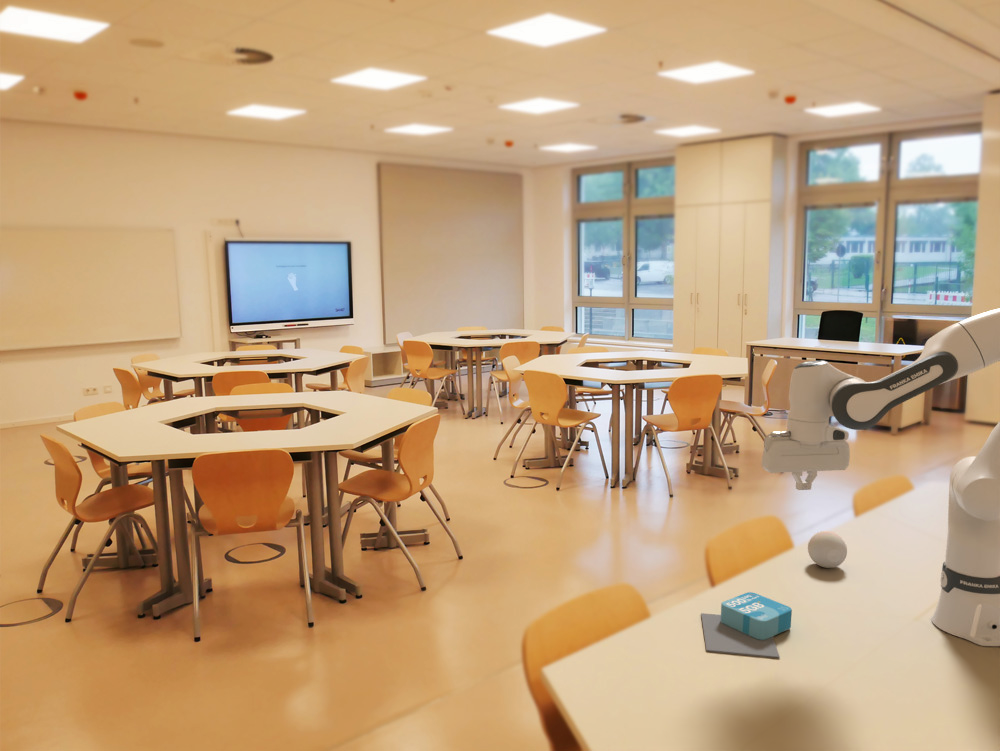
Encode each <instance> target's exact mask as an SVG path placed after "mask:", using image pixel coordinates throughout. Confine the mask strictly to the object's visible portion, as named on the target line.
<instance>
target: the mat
mask: <svg viewBox="0 0 1000 751" xmlns="http://www.w3.org/2000/svg"><path fill="white" fill-rule="evenodd" d="M700 617H701V623H702V629H703V638H704V643H705V651H706V652H708V653H709V652H710V653H720V654H729V655H730V654H731V655H738V656H749V657H761V658H770V659H781V658H780V655H779V652H778V651H779V650H778V649H777V645H776V641H775V639H774V636H772V637H770V638H768V639H766V640H758V639H755V638H753V637H751V636H749V635H747V634H745V633H742V632H740V631H738V630H736V629H734V628H731V627H729V626H727V625H725V624H723V623H722V622H721V614H712V613H704V612H701V614H700Z"/></svg>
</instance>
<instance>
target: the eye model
mask: <svg viewBox="0 0 1000 751" xmlns="http://www.w3.org/2000/svg"><path fill="white" fill-rule="evenodd" d="M807 552H808V556H809V558H810V559H811V560H812V561H813V562H814V563H815V565H818V566H820V567H822V568H826V569H833V568H836V567H839V566H840V565H842V564H843V562H844V561H845V560H846V558H847V555H848V548H847V544H846V542H845V540H844V539H843V538H842V536H841V535H840V534H837V533H836V532H833V531H830V530H822V531H817V532H816V533H815V534H813V535H812V536H811V537H810V538H809V541H808V544H807Z"/></svg>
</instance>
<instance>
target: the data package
mask: <svg viewBox="0 0 1000 751" xmlns="http://www.w3.org/2000/svg"><path fill="white" fill-rule="evenodd" d="M720 607H721V608H720V615H721V622H722V623H723V624H725V625H727V626H729V627H731V628H734V629H736V630H738V631H740V632H742V633H745V634H747V635H749V636H751V637H753V638H755V639H758V640H766V639H768V638H770V637H772V636H773V637H775V636H777V635H778V634H782V633H783V632H785V631H788V630H790V629H791V626H792V613H793V612H792V611H793V610H792V608H791V607H790V606H788V605H785V604H783V603H780V602H779V601H775V600H773V599H770V598H769V597H766V596H763V595H761V594H758V593H757V592H753V591H752V592H751V591H749V592H744V593H743V594H739V595H738V596H735V597H732V598H730V599H727V600H725V601H724V600H723V601H722V602H721V606H720Z"/></svg>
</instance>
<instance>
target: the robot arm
mask: <svg viewBox="0 0 1000 751" xmlns="http://www.w3.org/2000/svg"><path fill="white" fill-rule="evenodd" d="M997 362H1000V308H999V307H998V308H995V309H991V310H988V311H985V312H981V313H978V314H975V315H973V316H969V317H967V318H965V319H962V320H960V321H958V322H956V323H953V324H951V325H949V326H947V327H945V328H943V329H941V330H940V331H938V332H937V333H935V334H934V335H932V336H931V337H930V338H929V339H927V340H926V342H925V344H924V346H923V349H922V351H921V354H920V356H919V357H918V358H917V359H915V360H914V361H913V362H912V363H910V364H908V365H907V366H904V367H902V368H900V369H899V370H896V371H894V372H891V373H890V374H889V375H886V376H884V377H882V378H880V379H877V380H875V381H868V382H867V381H866V380H864V379H862V378H861V377H858V376H854V375H852V374H848V373H847V372H844V371H842V370H840V369H838V368H836V367H835V366H833V365H832V364H831V363H829V361H826V360H810V361H804V362H801V363H798V364H797V365H796V366H795V367H794V368H793V370H792V372H791V377H790V383H789V388H788V389H789V392H788V401H789V411H788V413H787V421H786V422H787V423H786V431H772V432H770V433H769V434H767V435H766V436H765V437H764V438H763V439H764V440H763V447H764V448H763V452H762V457H761V467H762V468H763V470H764V471H765V472H768V473H769V474H770V473H771V474H772V473H773V474H774V473H775V474H776V473H791V475H792V477H793V478H794V481H795V489H796V490H797V491H804V490H805V491H808V490H809V491H810V490H812V483H813V482H814V481H815V480H816V478H817V476H818V472H825V471H827V472H828V471H829V472H830V471H845V470H847V469H848V467H849V466H850V457H851V456H850V452H851V451H850V450H851V449H850V445H849V442H848V439H849V437H850V433H849V431H847V430H845V429H843V428H840V427H837V426H835V425H833V424H831V423H830V417H832V416H833V417H834V418H835V420H836V421H837V422H838V423H839V424H840V425H842V426H843V427H845V428H846V429H849V430H853V431H854V430H855V431H860V430H861V431H863V430H866V429H869V428H872V427H873V426H875V425H876V424H878V423H879V422H880V421H881V420H882V419H883V418H884V416H886V415H887V413H888V412H890V411H891V410H892V409H894V408H895V407H897V406H898V405H901V404H903V403H905V402H907V401H908V400H912V398H913V399H914V398H915V397H917V396H919V395H921V394H923V393H925V392H927V391H930V390H931V389H933V388H935V387H937V386H939V385H942V384H944V383H947V382H950V381H953V380H956V379H959V378H963V377H965V376H968V375H971V374H973V373H976V372H979V371H980V370H983V369H985V368H987V367H989V366H991V365H993V364H995V363H997ZM805 472H806V474H807V476H806V478H805V479H804V480H803V479H802V478H801V477H802V476H803V473H805ZM947 507H948V512H947V515H948V516H947V538H946V545H945V546H946V549H945V556H944V557H945V560H944V562H943V563H942V567H941V573H940V588H941V590H940V593H939V598H938V601H937V605H936V608H935V610H934V612H933V613H932V614H933V615H932V616H931V622H932V623H933V625H934V626H936V627H937V628H938V629H940V630H941V631H944V632H946V633H948V634H949V635H953V636H956V637H959V638H961V639H965V640H967V641H970V642H971V643H974V644H975V645H978V646H982V647H1000V421H998V422H997V424H996V425H995V426H994V428H993V429H992V430H991V432H990V433H989V435H988V437H987V439H986V441H985V442H984V444H983V446H982V447H981V449H980V451H979V452H978V453H977V455H974V456H973V455H971V456H966V457H963V458H962V459H960V460H958V461H957V462H956V463H955V464H954V465H953V467H952V469H951V471H950V475H949V487H948V506H947Z"/></svg>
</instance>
